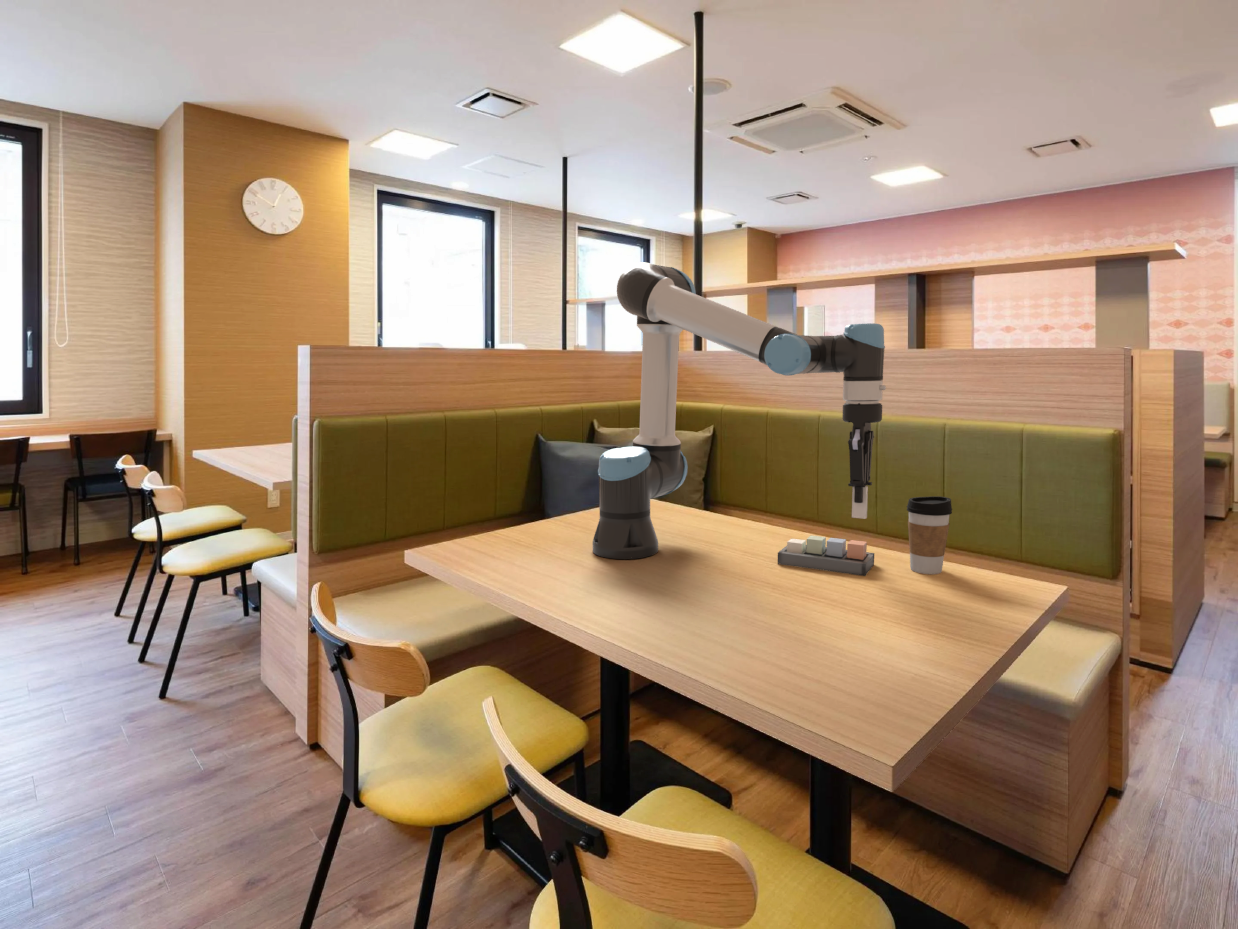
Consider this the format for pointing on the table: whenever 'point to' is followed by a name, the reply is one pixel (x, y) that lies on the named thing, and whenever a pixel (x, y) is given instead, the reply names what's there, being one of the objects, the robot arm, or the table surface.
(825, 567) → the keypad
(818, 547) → the key sage
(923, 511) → the coffee cup
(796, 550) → the key cream
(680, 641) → the table surface
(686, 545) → the table surface
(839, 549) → the key slate
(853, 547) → the key terracotta
